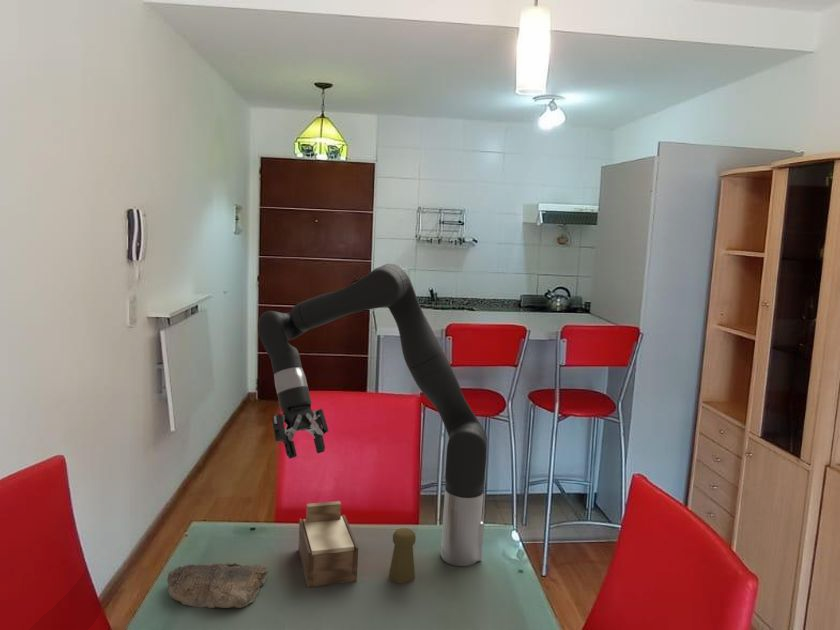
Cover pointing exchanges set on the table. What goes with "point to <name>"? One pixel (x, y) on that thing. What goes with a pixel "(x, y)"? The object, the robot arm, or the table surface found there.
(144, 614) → the table surface
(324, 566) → the lid box
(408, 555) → the tan pawn
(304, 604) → the table surface
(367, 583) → the table surface
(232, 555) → the table surface
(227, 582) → the clay tablet
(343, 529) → the cover plate
